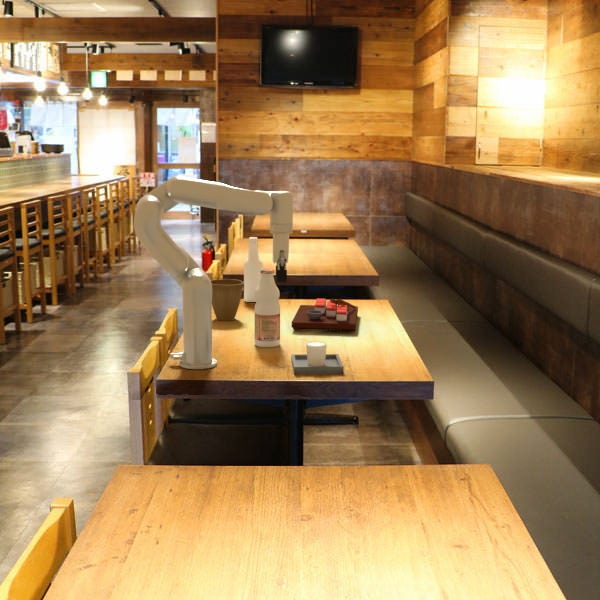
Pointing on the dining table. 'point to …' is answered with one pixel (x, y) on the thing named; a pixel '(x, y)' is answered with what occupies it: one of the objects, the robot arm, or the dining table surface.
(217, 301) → the plant pot
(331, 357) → the serving tray
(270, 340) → the fruit juice
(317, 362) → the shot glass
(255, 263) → the alcohol
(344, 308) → the sushi
